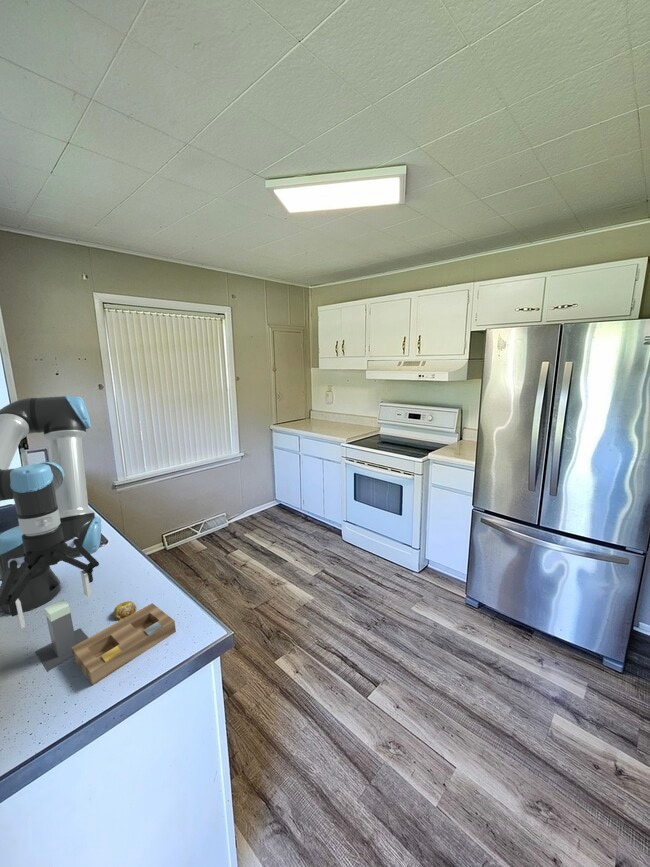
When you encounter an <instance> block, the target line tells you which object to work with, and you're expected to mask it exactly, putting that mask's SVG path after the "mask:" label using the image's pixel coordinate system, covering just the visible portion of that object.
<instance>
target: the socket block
mask: <svg viewBox="0 0 650 867" xmlns="http://www.w3.org/2000/svg"><path fill="white" fill-rule="evenodd" d="M118 621H119V620H118ZM118 621H117V622H115V623H114V624H112V625H110V626H108V627H106V628H104V629H103V630H101V631H99V632H97V633H95V634H94V635H92V636H89V637H88V639H86V640H84V641H82V642H81V643H79V644H77V645H75V646H73V647H71V649H72V654H73V658H72V659H73V662H75V664H76V665H77V667H78V668H79V669H80V671H81V672H82V674H84V676H85V677H86V678H87V681H89V682H90V684H91V685H92V686H95V685H96V684H98V683H99V682H101V681H102V680H103V679H105V678H107V677H108V676H110V675H112V674H113V673H115V672H117V671H118V670H119V669H121V668H122V667H124V666H126V665H127V664H129V663H131V662H132V661H133V660H134V659H136V658H138V657H139V656H141V655H143V654H144V653H145V652H147V651H149V650H151V649H152V648H153V647H155V646H157V645H158V644H160V643H161V642H163V641H164V640H165V639H168V638H169V637H170V636H172V635H173V634H175V633H176V632H177V631H176V622H175V619H173V618H172V617H170V615H169V614H167V613H165V612H164V611H163V610H161V609H160V608H159V607H158V606H157V605H155V604H154V603H150V604H148V605H146V606H144V607H143V608H141V609H138V610H136V612H135V613H133V614H132V615H130V616H128V617H126V618H124V619H122V620H121V621H119V622H118Z"/></svg>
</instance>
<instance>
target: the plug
mask: <svg viewBox="0 0 650 867" xmlns="http://www.w3.org/2000/svg"><path fill="white" fill-rule="evenodd" d="M70 607H71V606H70V605H69V604H68V602H66V600H65V599H61V600H59V601H57V602H54V603H53V604H51V605H48V606H47V607H44V611H45V616H46V621H47V626H48V632H49V636H50V641H51V642H50V643H52V647H53V650H54V652H55V653H56V654H57V656H58V657H59V656H61V655H63V654H65V653H67V652H68V651H70V650H72V649H71V647H73V646H75V645H76V639H75V634H74V631H75V629H74V624H73V619H72V615H71V614H72V613H71V608H70Z"/></svg>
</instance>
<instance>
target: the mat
mask: <svg viewBox="0 0 650 867" xmlns="http://www.w3.org/2000/svg"><path fill="white" fill-rule="evenodd" d="M74 634H75V639H76V645H77V644H79V643H81V642H82V641H84V640H86V639H88V638H89V636H88V635H87V634H86V633H85V632H84V631H83V629H82V628H80V627H79V628H77V629H76V630H75V629H74ZM34 652H35V654H36V656H37V657H38V659H39V660H40V662H41V664H42V665H43V667H44V669H45V670H46V672H49V671H51V670H53V669H55V668H57V667H58V666H61V665H62V664H63V663H66V662H67V661H69V660H71V659H73V654H72V650H70V651H68V652H67V653H65V654H63V655H61V656H59V657H58V656H57V654H56V653H55V652H54V650H53V647H52V642H50V643H49V644H46V645H45V646H42V647H41V648H39V649H37V650H35V651H34Z"/></svg>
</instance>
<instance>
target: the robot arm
mask: <svg viewBox="0 0 650 867" xmlns="http://www.w3.org/2000/svg"><path fill="white" fill-rule="evenodd" d="M91 428H92V425H91V419H90V415H89V412H88V409H87V405H86V403H85V401H84V399H83V398H82V397H81V396H78V395H63V396H46V397H42V396H41V397H27V398H22V399H19V400H16V401H12V402H11V403H9V404H7V405H6V406H4V407H1V409H0V502H1V501H8V500H9V501H10V500H13V501H14V505H15V510H16V511H15V512H16V515H17V520H18V525H17V526H15V527H11V528H10V529H7V530H5V531H4V532H2V533H0V580H1V584H0V612H1V613H3V614H6V613H7V614H8V615H10V616H11V617H15V616H16V620H17V623H18V626H20V629H24V628H26V623H25V617H24V612H28V611H31V610H33V609H34V610H35V609H36V608H38V607H41V606H42V605H43V606H44V605H45V604H47V603H48V602H50V601H51V600H53V599H54V598H56V597H57V596H58V595H59V593H60V592H61V590H62V587H61V586H62V585H61V581H60V579H59V578H58V576H57V575H56V573H54V571H53V570H52V568H51V566H55V565H57V564H58V563H59V562H65V563H67V564H70V565H71V566H73V567H75V568H78V569H80V570H81V571H80V578H81V582H82V583H81V584H82V588H83V594H84V595H85V596H86V597H87V598H91V597H92V592H91V586H90V583H93V581H94V577H93V576H94V575H93V572H94V568H97V567H99V566H100V563H99V561H98V560H97V559H96V558H94V557H93V556H92V555H93V554H95V553H96V552H97V551H98V550H99V548H100V543H101V537H102V520H101V517H100V516H98V515H97V516H96V515H95V511H94V510H92V509H90V506H89V502H88V501H89V499H88V490H87V480H86V471H85V469H86V468H85V461H84V450H83V440H82V439H83V438H84V437H85V436H86V435H87V430H89V429H91ZM36 433H37V434H39V433H43V437H44V438H45V439H47V440H48V441H49V442H50V452H51V461H43V462H40V463H33V464H27V465H26V464H25V465H21V466H19V467H16V468H10V466H11V464H12V461H13V460H14V457H15V455H16V452H17V449H18V448H19V445H20V442H21V440H23V439H24V438H26V437H27V435H30V434H36ZM83 557H84V559H85V560H86V561H87V562H89V563H87V564H86V563H84V562H82V561H80V560H78V559H76V558H83ZM7 614H6V615H7Z"/></svg>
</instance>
